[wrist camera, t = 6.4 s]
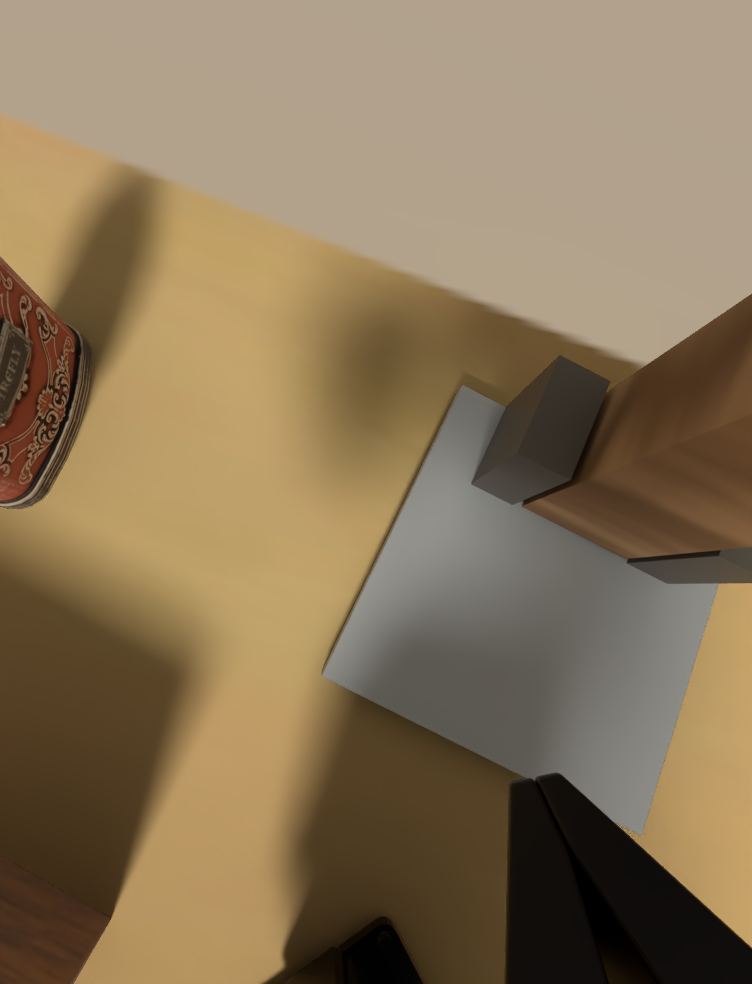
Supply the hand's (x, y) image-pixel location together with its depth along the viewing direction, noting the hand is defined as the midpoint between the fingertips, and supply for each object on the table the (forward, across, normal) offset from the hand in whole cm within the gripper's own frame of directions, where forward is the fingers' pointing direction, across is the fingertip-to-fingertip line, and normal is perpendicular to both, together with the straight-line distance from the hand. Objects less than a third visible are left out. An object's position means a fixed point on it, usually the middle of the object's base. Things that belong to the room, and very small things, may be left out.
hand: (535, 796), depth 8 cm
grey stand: (+13, -4, +4) cm, 14 cm away
